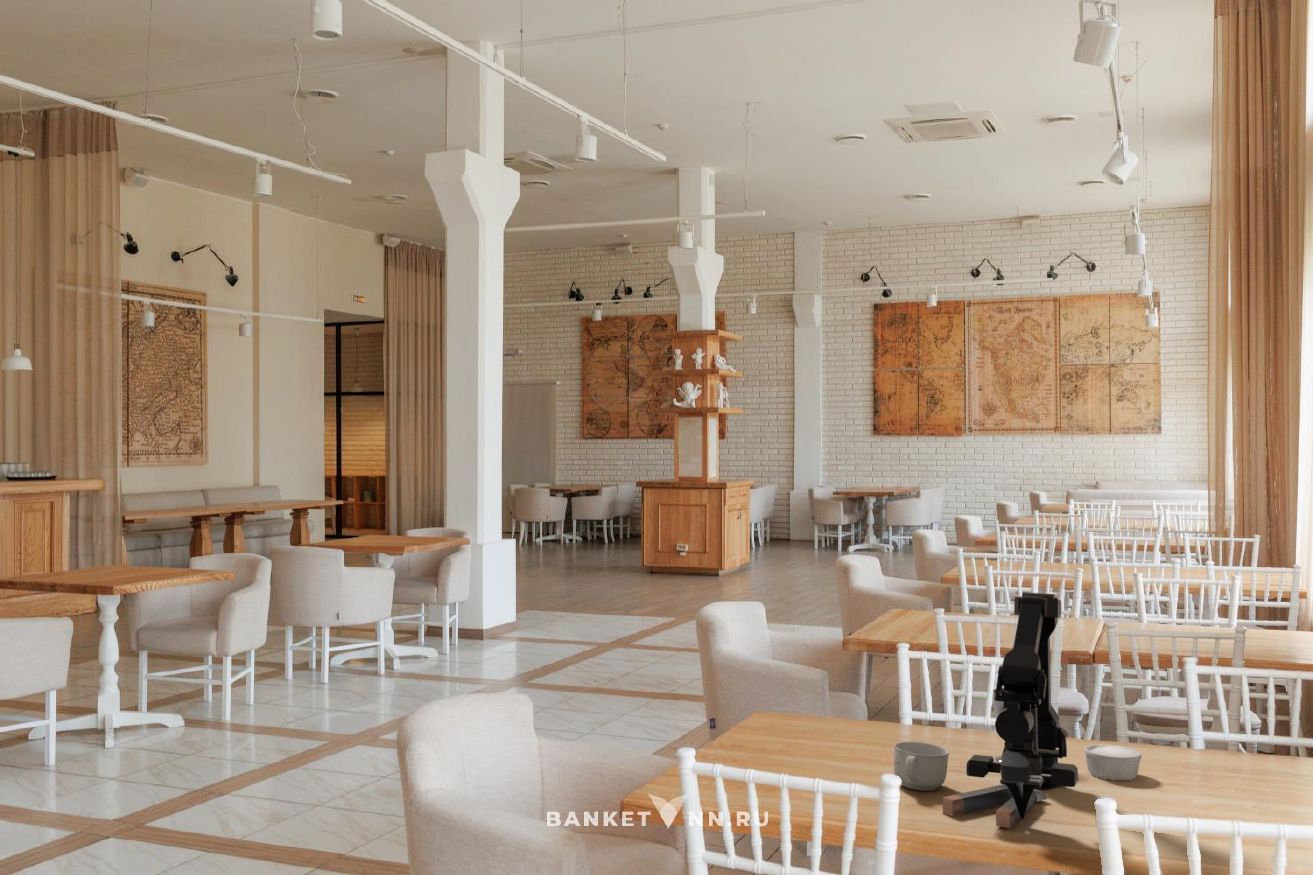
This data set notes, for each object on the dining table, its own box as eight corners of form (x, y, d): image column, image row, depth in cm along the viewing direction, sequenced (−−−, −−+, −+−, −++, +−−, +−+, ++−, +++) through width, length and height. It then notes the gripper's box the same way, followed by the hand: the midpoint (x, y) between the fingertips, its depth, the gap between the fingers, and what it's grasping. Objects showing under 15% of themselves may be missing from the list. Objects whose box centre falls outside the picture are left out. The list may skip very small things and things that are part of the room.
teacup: (908, 776, 239) (909, 737, 239) (957, 786, 232) (958, 746, 232) (876, 790, 228) (876, 750, 229) (926, 801, 222) (926, 759, 222)
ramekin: (1089, 765, 250) (1089, 741, 250) (1144, 773, 244) (1145, 748, 244) (1079, 777, 240) (1079, 752, 240) (1136, 785, 234) (1136, 759, 234)
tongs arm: (1022, 802, 220) (1022, 788, 220) (1034, 804, 219) (1034, 790, 219) (996, 825, 206) (996, 811, 206) (1009, 828, 205) (1009, 813, 205)
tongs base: (1024, 794, 227) (1024, 774, 227) (1047, 801, 222) (1047, 780, 222) (942, 813, 214) (942, 791, 214) (964, 821, 210) (964, 798, 210)
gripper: (959, 735, 205) (961, 824, 204) (1070, 745, 197) (1071, 837, 196) (971, 723, 215) (973, 807, 214) (1077, 732, 207) (1079, 820, 206)
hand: (1022, 818), depth 208 cm, fingers closed
